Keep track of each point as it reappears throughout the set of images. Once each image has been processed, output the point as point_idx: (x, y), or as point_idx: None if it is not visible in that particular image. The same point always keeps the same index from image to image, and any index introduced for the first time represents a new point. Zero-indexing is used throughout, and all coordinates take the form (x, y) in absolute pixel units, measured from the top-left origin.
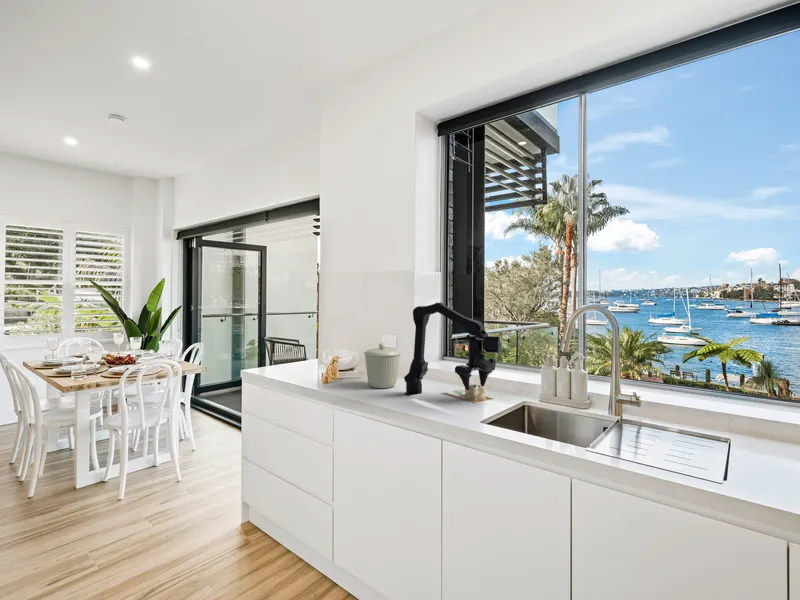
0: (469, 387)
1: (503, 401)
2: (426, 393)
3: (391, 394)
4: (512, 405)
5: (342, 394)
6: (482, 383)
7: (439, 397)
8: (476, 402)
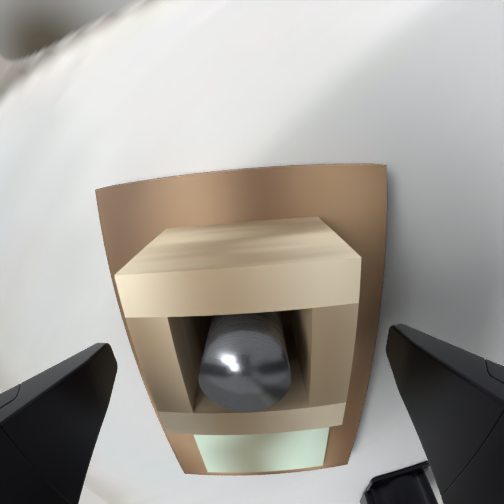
0: (349, 368)
1: (39, 174)
2: (339, 490)
3: (434, 484)
4: (66, 53)
5: None
6: (93, 381)
7: (356, 443)
8: (353, 165)
